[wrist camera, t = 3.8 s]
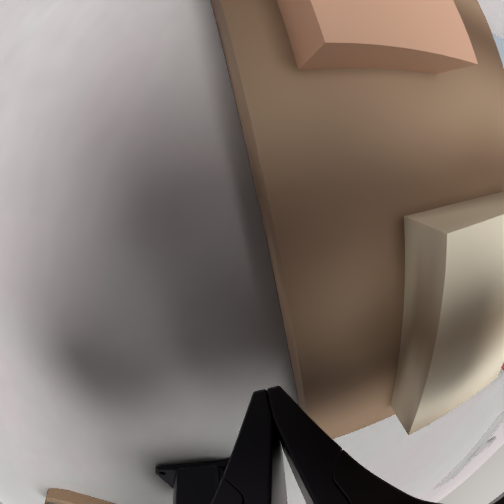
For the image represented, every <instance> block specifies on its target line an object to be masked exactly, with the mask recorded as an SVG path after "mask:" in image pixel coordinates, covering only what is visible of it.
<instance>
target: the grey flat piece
mask: <svg viewBox="0 0 504 504" xmlns="http://www.w3.org/2000/svg"><path fill="white" fill-rule="evenodd" d="M503 420H504V412H503V413H502V414H500V415H499V416H498V417H497V418H496V420H495V421H494V422H493V424H492V425H491V426H490V428H489V429H488V430H487V432H486V433H485V434H484V435H483V437H482V438H481V439H480V440H479V442H478V443H477V444H476V445H475V446H474V448H473V449H472V450H471V451H470V452H469V453H468V454H467V456H466V457H465V458H464V459H463V460H462V461H461V462H460V463H459V464H458V465H457V466H456V467H455V468H454V469H453V470H452V471H451V472H450V473H449V474H448V475H447V476H446V477H445V478H444V479H443V480H442V481H441V482H440V483H439V484H438V485H437V486H436V487H435V488H437V487H439V486H441V485H443V484H444V483H446V482H448V481H449V480H451V479H453V478H454V477H455V476H456V475H457V474H458V473H459V472H460V471H461V470H462V469H463V468H464V467H465V466H466V465H467V464H468V463H469V462H470V461H471V460H472V459H473V458H474V457H475V456H476V455H478V454H479V453H480V452H481V451H483V450H484V449H485V448H487V447H488V446H489V445H490V444H491V443H492V442H493V441H494V440H495V439H496V437H494V438H491V439H490V437H491V436H492V435H493V434H494V432H495V431H496V430H497V428H498V427H499V426H500V424H501V423H502V422H503ZM489 439H490V440H489ZM435 488H434V489H435ZM434 489H432V490H434ZM432 490H431V491H432Z"/></svg>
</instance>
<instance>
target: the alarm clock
mask: <svg viewBox="0 0 504 504" xmlns="http://www.w3.org/2000/svg"><path fill="white" fill-rule="evenodd" d="M45 504H114V503H111V502H107V501H104V500H100V499H97V498H94V497H90V496H87V495H84V494H80V493H76V492H72V491H69V490H63V489H49V490H48V493H47V497H46V501H45Z"/></svg>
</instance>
